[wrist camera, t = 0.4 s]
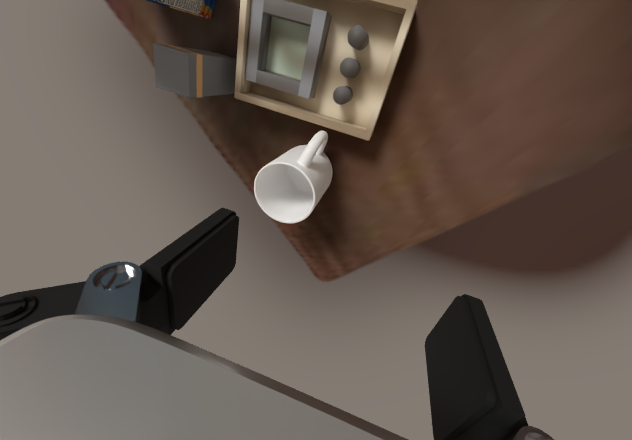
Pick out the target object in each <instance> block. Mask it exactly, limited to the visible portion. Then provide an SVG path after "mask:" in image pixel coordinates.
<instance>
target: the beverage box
mask: <svg viewBox="0 0 632 440" xmlns="http://www.w3.org/2000/svg"><path fill="white" fill-rule="evenodd" d="M147 1H150V2H153V3H156V4H160V5H163V6H166V7H170V8H173V9H176V10H179V11H183V12H186V13H189V14H193V15H196V16H199V17H202V18H206V19H209V20H210V18H211V15H212V12H213V9H214V6H215V2H216V0H147Z"/></svg>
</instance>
